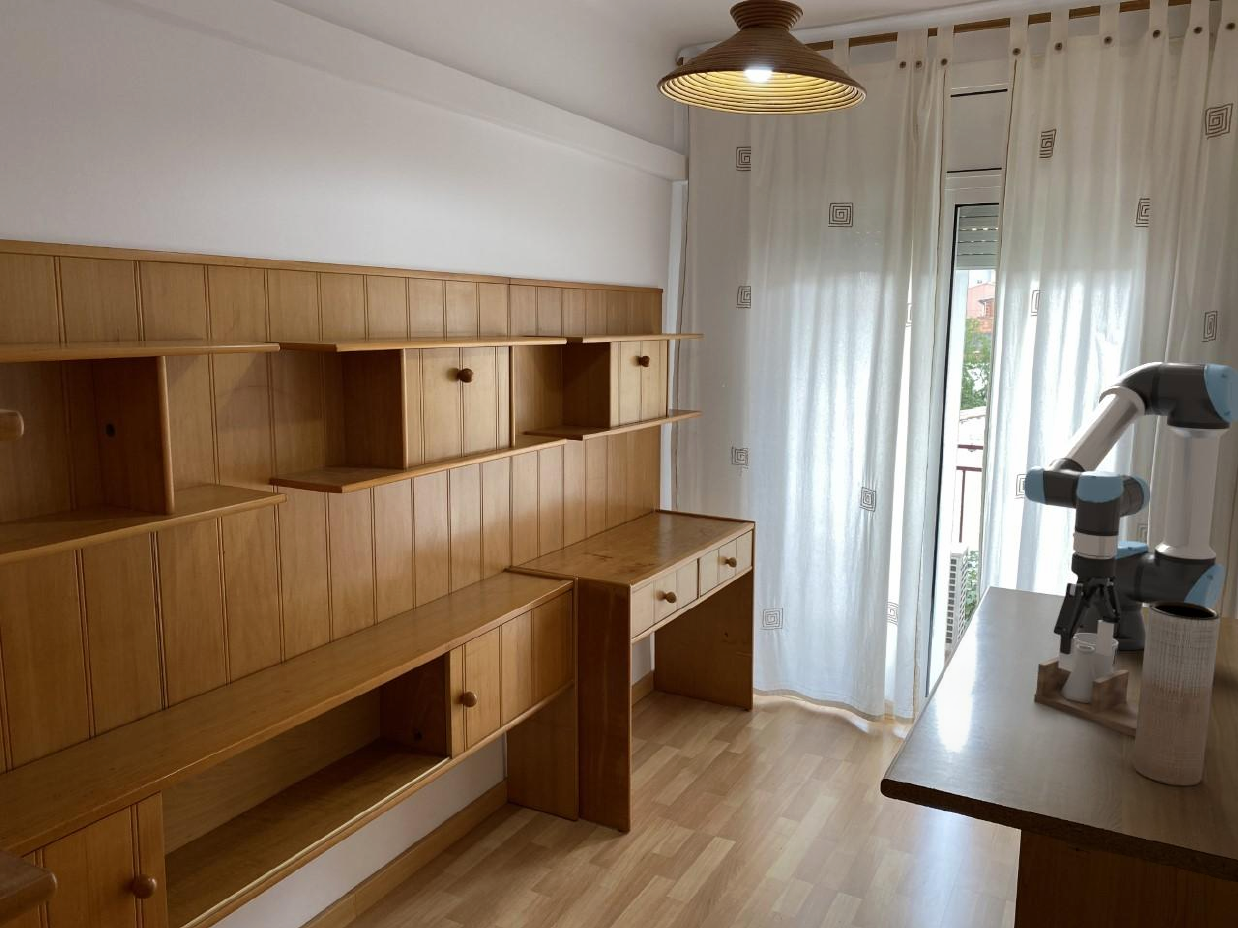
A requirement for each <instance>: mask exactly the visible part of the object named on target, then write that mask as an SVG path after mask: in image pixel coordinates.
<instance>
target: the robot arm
mask: <svg viewBox="0 0 1238 928" xmlns="http://www.w3.org/2000/svg"><path fill="white" fill-rule="evenodd" d="M1153 415H1154V416H1161V417H1166V419H1167V420H1166V427H1167V428H1168V429H1169V430H1170V431H1171V432H1172V435H1173V439H1172V449H1171V458H1170V459H1171V460H1170V469H1169V470H1170V471H1169V480H1168V481H1169V483H1168V490H1167V499H1166V502H1167V503H1166V513H1165V521H1164V532H1163V533H1164V534H1163V540H1162V542H1160V543H1158V544H1157V545H1156V546H1155V548H1154V551H1153V552H1152V551H1150V547H1149V545H1148V544H1147V543H1144V542H1141V541H1133V540H1132V541H1131V540H1129V541H1128V540H1119V532H1120V531H1119V530H1120V523H1121V518H1124V517H1127V516H1131V515H1136V514H1137V513H1139V512H1140V511H1142V510H1144V509H1145V508H1146V507H1147V506H1148V504H1149V503H1150V500H1151V497H1152V496H1151V489H1150V487H1149V485H1148V484H1147V482H1146V481H1145V480H1144V479H1142V478H1141V477H1139V476H1137V475H1134V474H1133V475H1132V474H1129V475H1127V474H1123V475H1120V474H1119V473H1116V472H1112V471H1106V470H1105V471H1103V470H1097V468H1098V467H1099V465H1100V464H1101V463H1102V462H1103V460H1104V459H1105V458H1106V456H1107V455H1108V454H1109V453H1110V451H1111V450H1112V449H1113V448H1114V446H1115V445H1116V444H1117V442H1118V441H1119V440H1120V438H1121V437H1122V436H1123V435H1124V433H1125V432H1126V431H1127V429H1129V427H1130V426H1131V425H1133V424H1136V423H1138V422H1139V421H1141V420H1142V418H1143V417H1144V416H1153ZM1236 421H1238V371H1237V370H1236V369H1235V368H1233V367H1232V366H1228V365H1222V364H1214V363H1197V362H1196V363H1192V362H1189V363H1188V362H1187V363H1186V362H1185V363H1184V362H1167V361H1155V362H1154V361H1153V362H1148V363H1146V364H1142V365H1140V366H1137V367H1135V368H1132V369H1130V370H1128V371H1126V372H1125V373H1123V374H1122V375H1120V376H1118V377H1117V378H1116V379H1114V380H1113V381H1112V382H1111V383H1110V384H1108V385H1107V387H1106V388H1104V390H1103V392H1101V394H1100V395H1099V398H1098V405H1097V406H1096V407H1095V409H1094V410H1093V412H1091V414H1090V415H1089V416H1088V418H1087V419H1086V420H1085V421H1084V422H1083V424H1082V425H1081V426H1080V428H1078V430H1077V431H1076V432H1075V434H1074V435H1073V436H1072V437H1071V439H1070V440H1069V441H1068V442H1067V443H1066V445H1065V446H1064V447H1063V449H1062V450H1061V451H1060V452H1059V453H1058V454H1057V456H1056V457H1055V458H1054V460H1053V461H1051V463H1050V464H1049V465H1048V467H1047V466H1045V465H1042V466H1038V465H1036V466H1033V467H1032V466H1031V468H1029V470H1028V471H1027V472H1026V475H1025V477H1024V481H1023V482H1024V483H1023V489H1024V495H1025V497H1026V498H1027V499H1028V500H1029V501H1031V502H1033V503H1038V504H1043V505H1046V506H1052V507H1060V508H1066V509H1074V510H1075V519H1074V520H1075V522H1074V531H1073V534H1072V537H1073V543H1072V544H1073V545H1072V547H1073V548H1072V550H1074V552H1073V553H1072V554H1071V564H1070V566H1071V567H1070V570H1071V572H1072V573H1073V574H1075V575H1076V577H1077V580H1076V582H1075V583H1073V582H1068V583H1067V584H1066V586H1065V587H1066V588H1065V596H1064V598H1063V601H1062V603H1061V606H1060V609H1059V614H1058V616H1057V619H1056V623H1055V626H1054V629H1053V633H1054V634H1055V635H1058V636H1060V639H1059V640H1060V642H1059V653H1058V654H1059V655H1058V657H1059V664H1058V668H1061V669H1065V670H1068V671H1071V672H1073V671H1074V666H1075V654H1076V642H1077V638H1076V637H1074V635H1075V634H1079V633H1093V634H1097V642H1096V653H1099V654H1102V655H1106V656H1111V652H1112V641H1113V638H1114V639H1115V640H1117V641H1118V647H1117V651H1118V650H1120V651H1136V650H1142V649H1145V640H1146V631H1147V625H1146V623H1145V619H1144V615H1143V604H1145V605H1150V604H1151V603H1153V602H1157V601H1178V602H1186V603H1192V604H1197V605H1201V606H1205V607H1208V608H1210V609H1213V607H1215V605H1216V604H1217V602H1218V599H1219V597H1220V596H1221V595H1220V594H1221V592H1222V589H1223V586H1224V584H1225V578H1226V577H1225V576H1226V573H1225V567H1224V566H1223V565H1222V564H1220V563H1216V561H1217V560H1216V558H1217V553H1216V552H1215V551H1214V550H1213V549H1212V547H1210V545H1209V544H1210V537H1211V526H1212V518H1213V507H1214V498H1215V488H1216V481H1217V480H1216V479H1217V470H1218V469H1217V467H1218V460H1219V448H1220V440H1221V437H1222V436H1223V435H1224V434H1225V433H1226V432H1227V431H1230V425H1231V423H1233V422H1236Z"/></svg>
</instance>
